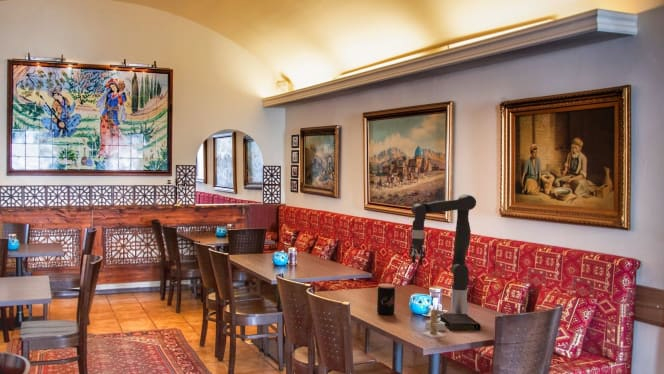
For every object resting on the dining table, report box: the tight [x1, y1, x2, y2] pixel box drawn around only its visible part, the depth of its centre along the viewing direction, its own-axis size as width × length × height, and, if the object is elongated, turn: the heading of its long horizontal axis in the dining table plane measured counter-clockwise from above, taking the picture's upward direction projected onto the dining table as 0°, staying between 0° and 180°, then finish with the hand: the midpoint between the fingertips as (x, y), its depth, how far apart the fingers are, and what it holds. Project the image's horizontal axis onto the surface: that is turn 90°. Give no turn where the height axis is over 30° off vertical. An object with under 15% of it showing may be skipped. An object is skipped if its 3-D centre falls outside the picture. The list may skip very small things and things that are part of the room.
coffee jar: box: [376, 283, 396, 317], centre depth 427 cm, size 11×11×18 cm
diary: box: [438, 312, 482, 332], centre depth 402 cm, size 19×25×5 cm
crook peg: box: [429, 308, 444, 335], centre depth 377 cm, size 7×4×13 cm, turn 64°
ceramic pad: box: [422, 331, 446, 339], centre depth 378 cm, size 9×9×1 cm
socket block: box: [424, 319, 446, 332], centre depth 392 cm, size 8×8×4 cm
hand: (417, 264), depth 416 cm, fingers open, 8 cm apart
